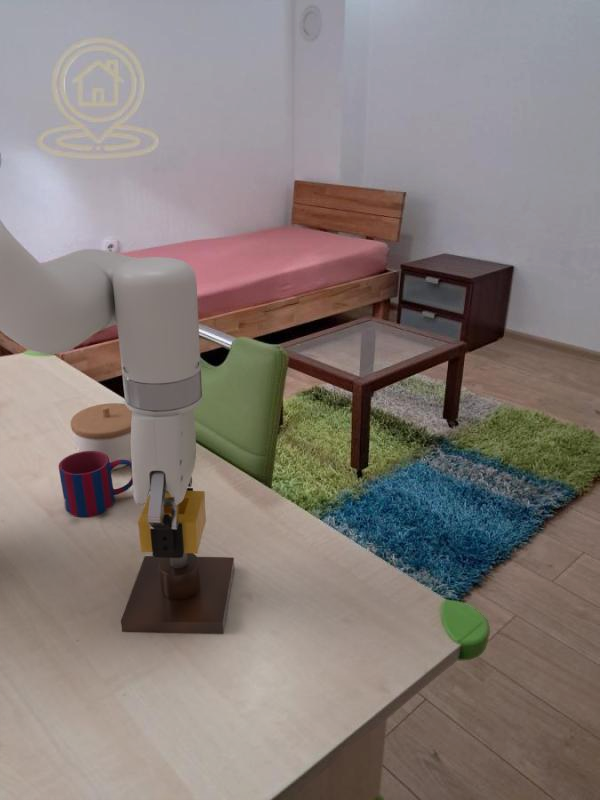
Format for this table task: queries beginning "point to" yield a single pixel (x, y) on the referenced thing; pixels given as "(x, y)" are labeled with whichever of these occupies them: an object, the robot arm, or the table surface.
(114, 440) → the trinket box
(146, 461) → the robot arm
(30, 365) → the table surface
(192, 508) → the yellow block
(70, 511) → the mug
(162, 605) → the stand
